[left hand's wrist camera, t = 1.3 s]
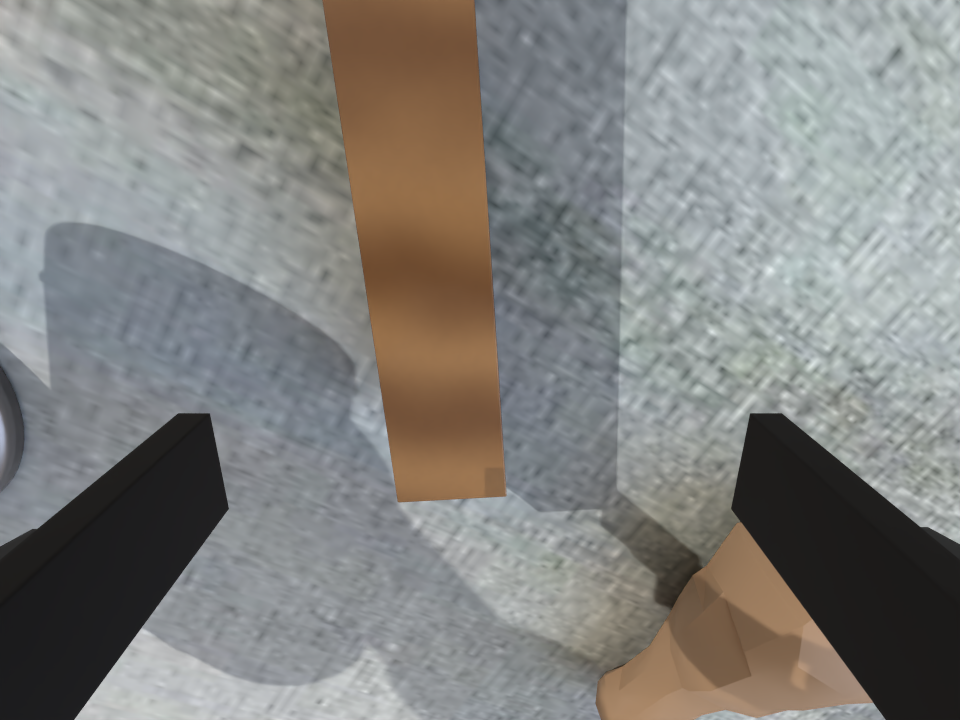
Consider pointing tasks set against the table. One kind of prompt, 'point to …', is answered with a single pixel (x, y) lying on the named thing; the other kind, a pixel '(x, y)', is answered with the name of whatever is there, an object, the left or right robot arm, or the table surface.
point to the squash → (731, 649)
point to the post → (423, 236)
